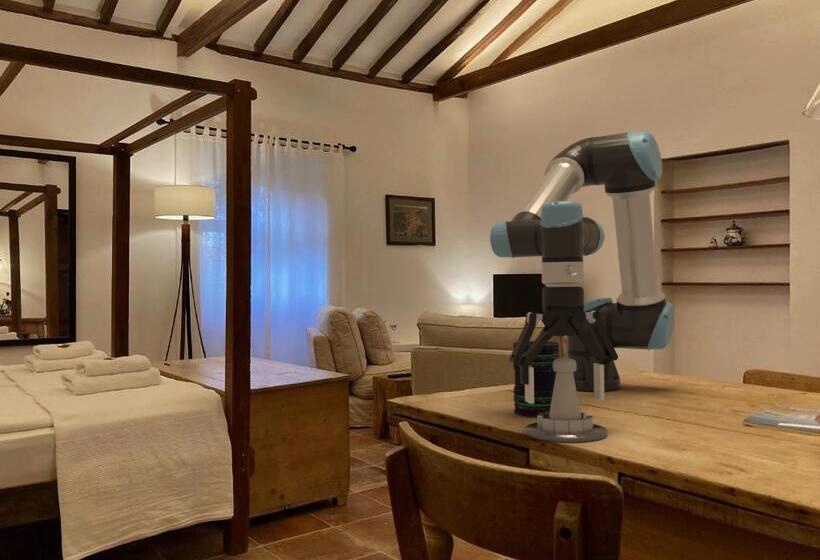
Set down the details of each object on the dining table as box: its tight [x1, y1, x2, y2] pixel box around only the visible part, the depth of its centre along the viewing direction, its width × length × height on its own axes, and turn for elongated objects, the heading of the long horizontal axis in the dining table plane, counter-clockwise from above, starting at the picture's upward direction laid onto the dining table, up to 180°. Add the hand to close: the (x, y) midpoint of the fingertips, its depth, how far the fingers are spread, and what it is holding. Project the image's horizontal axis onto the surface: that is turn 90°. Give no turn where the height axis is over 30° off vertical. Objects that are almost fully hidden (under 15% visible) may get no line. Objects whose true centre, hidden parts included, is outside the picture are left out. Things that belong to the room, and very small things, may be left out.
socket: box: [523, 411, 608, 444], centre depth 128 cm, size 15×15×3 cm
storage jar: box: [512, 340, 561, 418], centre depth 148 cm, size 10×10×15 cm
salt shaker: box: [549, 357, 582, 420], centre depth 128 cm, size 6×6×13 cm
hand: (564, 400), depth 128 cm, fingers open, 13 cm apart
